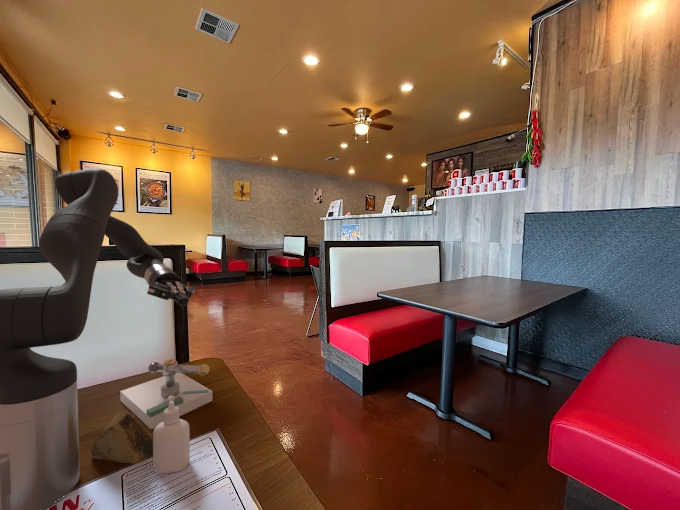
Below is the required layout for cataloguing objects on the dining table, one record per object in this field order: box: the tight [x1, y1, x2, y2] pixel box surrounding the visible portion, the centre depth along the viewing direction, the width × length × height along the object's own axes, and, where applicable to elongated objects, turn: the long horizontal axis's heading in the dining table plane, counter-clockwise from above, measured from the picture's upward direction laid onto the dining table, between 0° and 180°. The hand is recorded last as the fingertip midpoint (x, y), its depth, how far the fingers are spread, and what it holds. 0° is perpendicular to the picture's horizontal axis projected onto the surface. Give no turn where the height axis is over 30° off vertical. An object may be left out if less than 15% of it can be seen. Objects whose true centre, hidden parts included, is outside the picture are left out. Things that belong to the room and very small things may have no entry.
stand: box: [119, 373, 213, 430], centre depth 72 cm, size 14×18×5 cm
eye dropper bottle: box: [152, 401, 191, 474], centre depth 51 cm, size 4×6×12 cm
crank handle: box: [147, 358, 210, 387], centre depth 71 cm, size 15×3×6 cm, turn 87°
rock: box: [90, 410, 153, 465], centre depth 55 cm, size 11×9×10 cm
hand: (184, 302), depth 77 cm, fingers closed
